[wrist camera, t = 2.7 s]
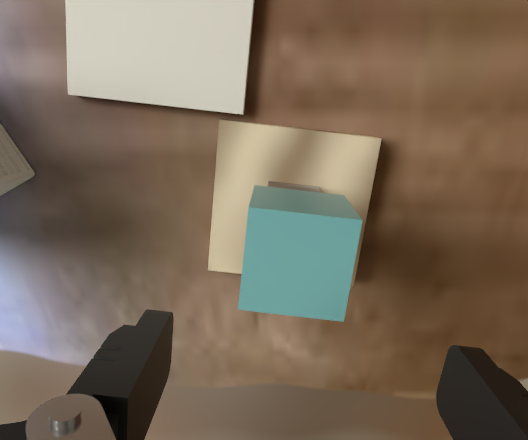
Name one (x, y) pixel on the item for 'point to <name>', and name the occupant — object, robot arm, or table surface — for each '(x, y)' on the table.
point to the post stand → (283, 177)
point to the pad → (161, 51)
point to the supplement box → (12, 164)
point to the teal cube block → (299, 253)
